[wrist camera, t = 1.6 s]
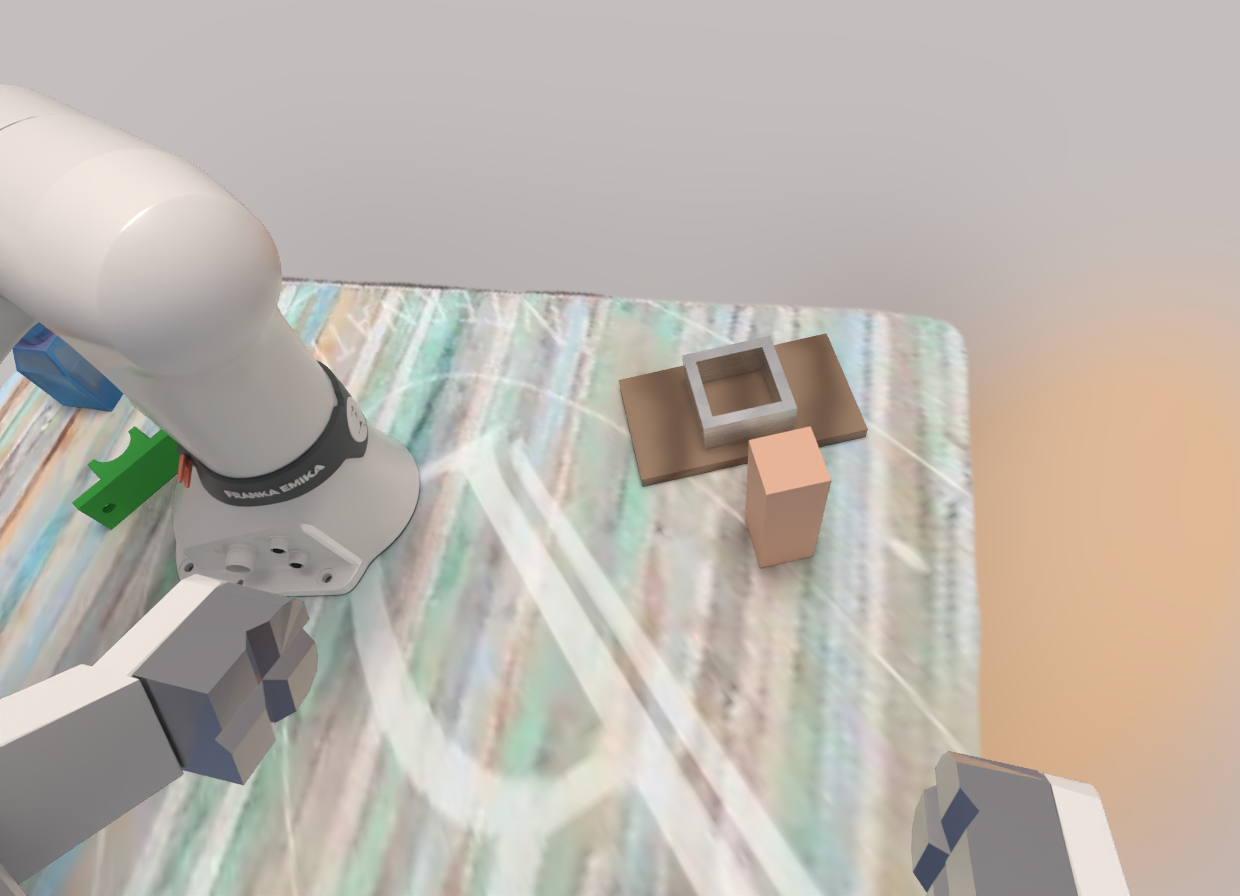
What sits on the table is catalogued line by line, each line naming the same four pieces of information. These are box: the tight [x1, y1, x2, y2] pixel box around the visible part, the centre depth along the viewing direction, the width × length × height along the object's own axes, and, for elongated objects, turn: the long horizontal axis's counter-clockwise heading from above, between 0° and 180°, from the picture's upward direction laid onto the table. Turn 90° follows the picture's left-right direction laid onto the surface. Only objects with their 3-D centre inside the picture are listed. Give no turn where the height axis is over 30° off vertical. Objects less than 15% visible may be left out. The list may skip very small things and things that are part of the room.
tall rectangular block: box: [746, 426, 831, 568], centre depth 57 cm, size 4×4×13 cm
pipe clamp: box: [73, 427, 180, 530], centre depth 72 cm, size 11×4×5 cm, turn 140°
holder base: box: [619, 334, 868, 486], centre depth 69 cm, size 20×11×1 cm, turn 100°
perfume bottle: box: [13, 322, 123, 411], centre depth 76 cm, size 6×6×12 cm
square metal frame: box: [682, 336, 797, 450], centre depth 67 cm, size 8×8×4 cm
